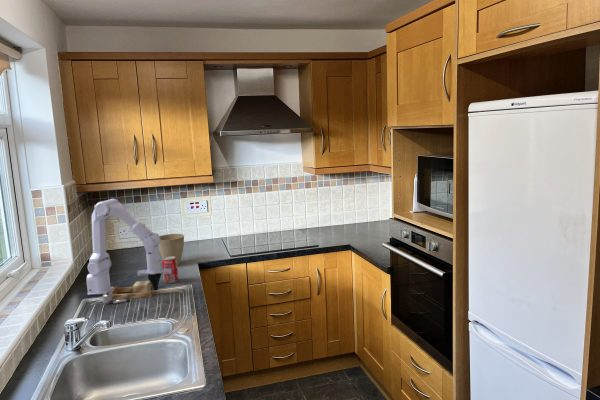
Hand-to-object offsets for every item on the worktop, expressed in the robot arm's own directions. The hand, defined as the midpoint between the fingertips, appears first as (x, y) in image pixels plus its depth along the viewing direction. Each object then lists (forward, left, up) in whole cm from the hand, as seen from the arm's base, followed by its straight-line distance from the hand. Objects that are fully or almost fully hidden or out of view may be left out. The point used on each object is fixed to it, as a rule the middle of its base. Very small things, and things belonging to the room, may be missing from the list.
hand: (156, 289), depth 207 cm
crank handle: (-13, -9, -2) cm, 16 cm away
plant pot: (-1, +44, -2) cm, 44 cm away
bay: (-10, 0, -2) cm, 10 cm away
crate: (-6, 0, -2) cm, 6 cm away
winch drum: (-19, -8, -2) cm, 20 cm away
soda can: (+4, +15, -2) cm, 16 cm away
